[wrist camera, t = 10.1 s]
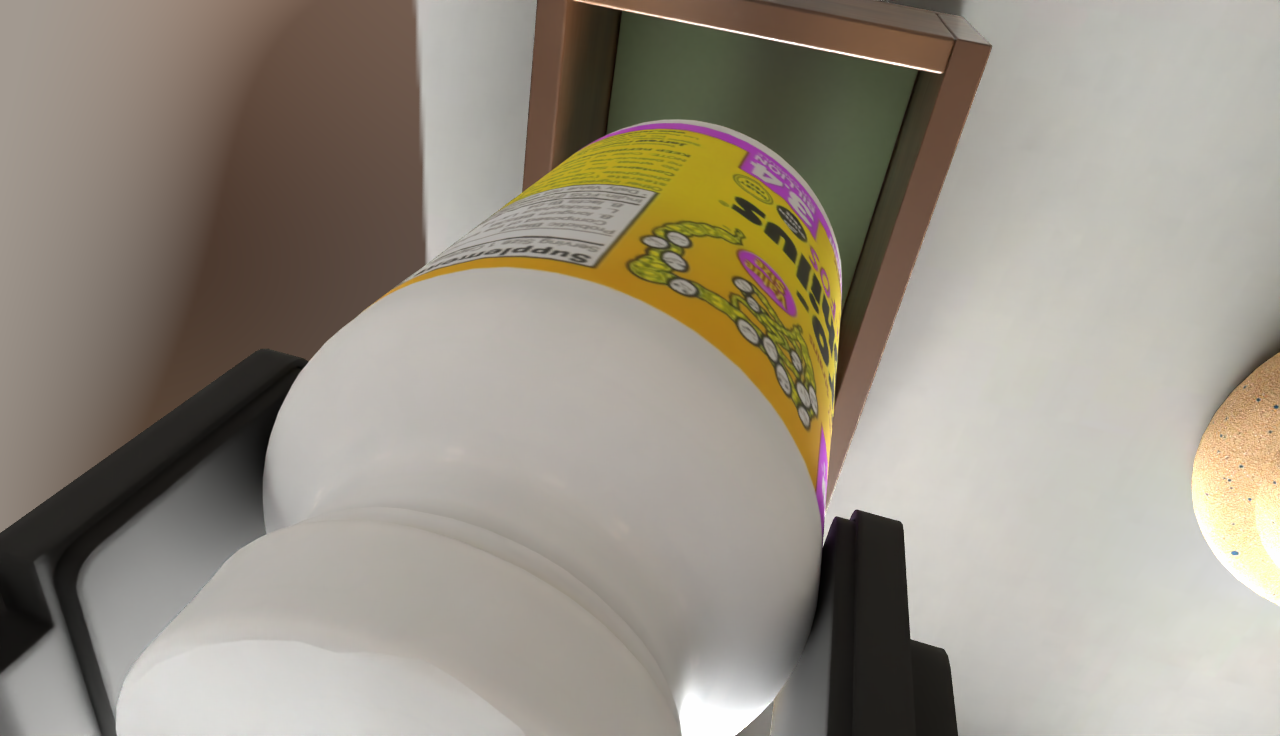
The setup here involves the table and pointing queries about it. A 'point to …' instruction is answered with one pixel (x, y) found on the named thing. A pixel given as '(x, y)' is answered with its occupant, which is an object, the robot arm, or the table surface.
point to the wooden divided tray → (782, 121)
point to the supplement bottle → (544, 474)
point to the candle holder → (1244, 481)
